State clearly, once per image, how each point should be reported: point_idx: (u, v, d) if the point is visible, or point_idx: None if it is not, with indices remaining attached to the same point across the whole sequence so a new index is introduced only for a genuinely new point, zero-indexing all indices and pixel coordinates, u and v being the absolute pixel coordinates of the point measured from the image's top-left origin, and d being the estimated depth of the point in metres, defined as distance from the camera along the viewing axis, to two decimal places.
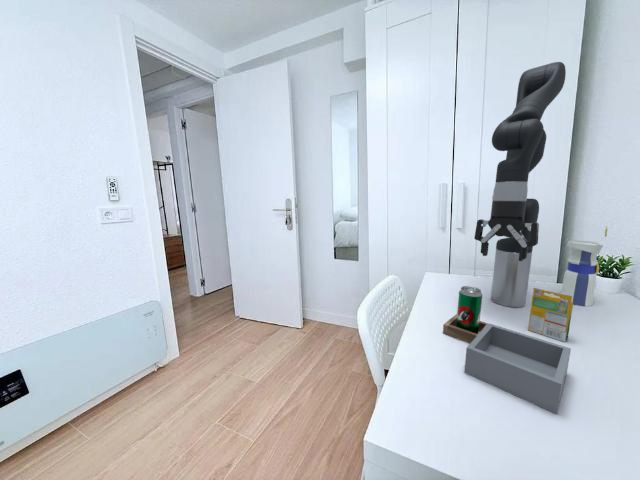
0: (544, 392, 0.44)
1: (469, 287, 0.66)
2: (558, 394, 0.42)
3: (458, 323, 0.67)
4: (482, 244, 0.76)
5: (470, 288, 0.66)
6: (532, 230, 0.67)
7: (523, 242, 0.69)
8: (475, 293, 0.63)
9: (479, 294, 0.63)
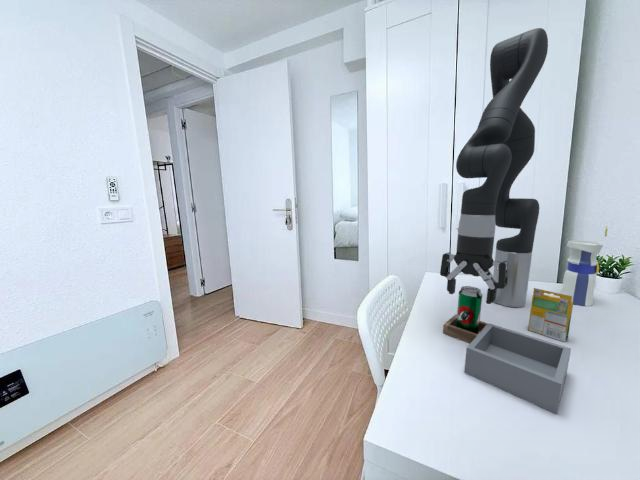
0: (544, 392, 0.44)
1: (469, 287, 0.66)
2: (558, 394, 0.42)
3: (458, 323, 0.67)
4: (448, 281, 0.68)
5: (470, 288, 0.66)
6: (500, 271, 0.59)
7: (491, 283, 0.60)
8: (475, 293, 0.63)
9: (479, 294, 0.63)
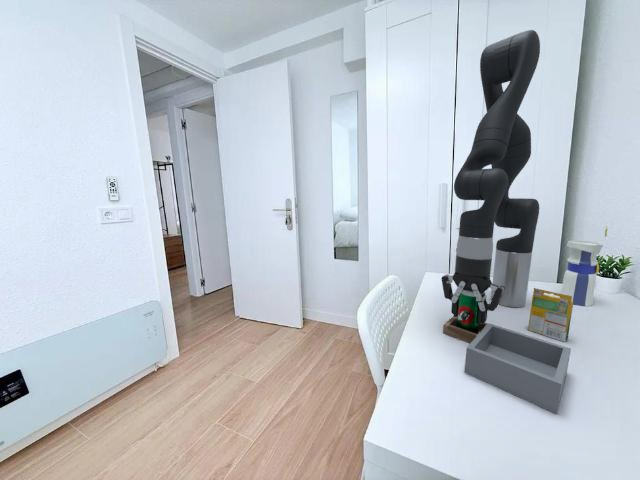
0: (544, 392, 0.44)
1: None
2: (558, 394, 0.42)
3: (458, 323, 0.67)
4: (453, 304, 0.68)
5: None
6: (495, 295, 0.60)
7: (482, 305, 0.63)
8: None
9: None
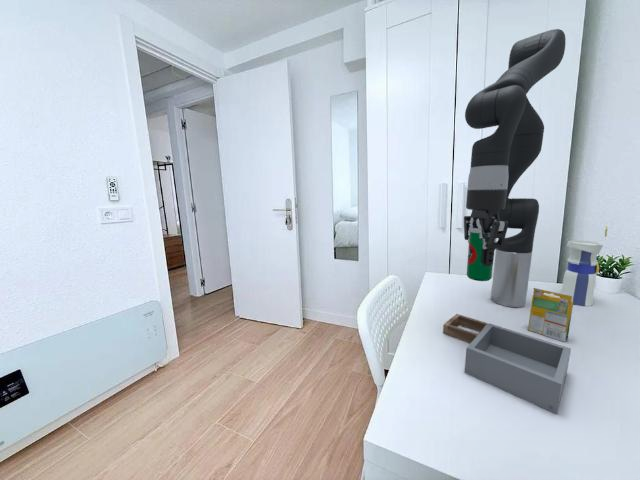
0: (544, 392, 0.44)
1: None
2: (558, 394, 0.42)
3: None
4: None
5: None
6: (492, 229, 0.54)
7: (484, 243, 0.57)
8: None
9: None
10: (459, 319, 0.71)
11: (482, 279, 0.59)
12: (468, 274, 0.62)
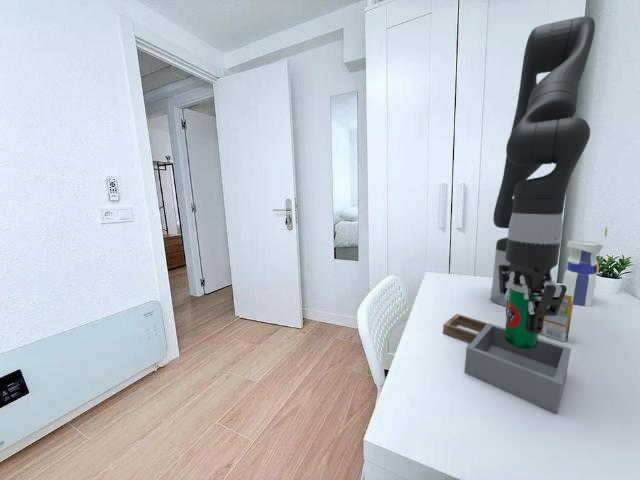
0: (544, 392, 0.44)
1: None
2: (558, 394, 0.42)
3: None
4: (507, 301, 0.54)
5: None
6: (544, 294, 0.44)
7: (531, 307, 0.47)
8: None
9: None
10: (459, 319, 0.71)
11: (527, 348, 0.49)
12: (508, 339, 0.51)
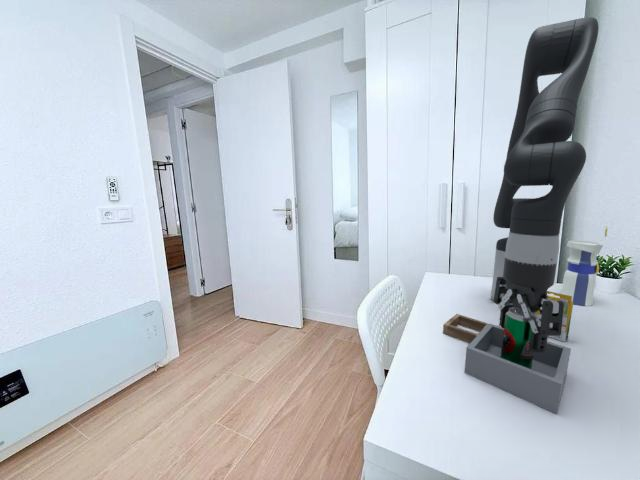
0: (544, 392, 0.44)
1: None
2: (558, 394, 0.42)
3: (501, 349, 0.54)
4: None
5: None
6: (543, 311, 0.44)
7: (534, 325, 0.46)
8: (519, 316, 0.49)
9: None
10: (459, 319, 0.71)
11: None
12: None
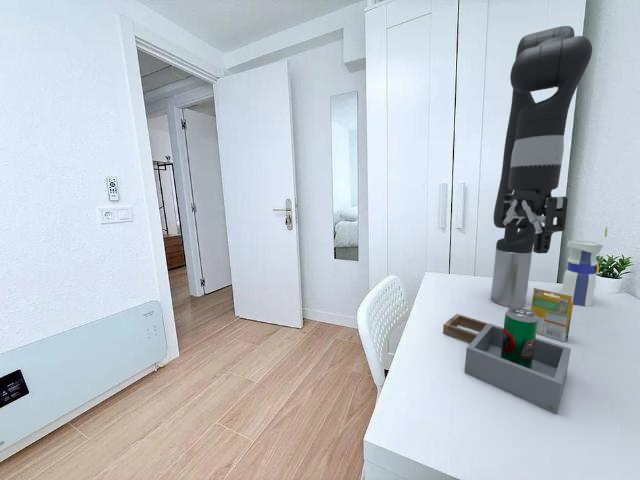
0: (544, 392, 0.44)
1: (524, 310, 0.51)
2: (558, 394, 0.42)
3: (501, 349, 0.54)
4: None
5: (523, 311, 0.51)
6: (547, 208, 0.45)
7: (538, 226, 0.48)
8: (519, 316, 0.49)
9: (526, 320, 0.49)
10: (459, 319, 0.71)
11: None
12: None
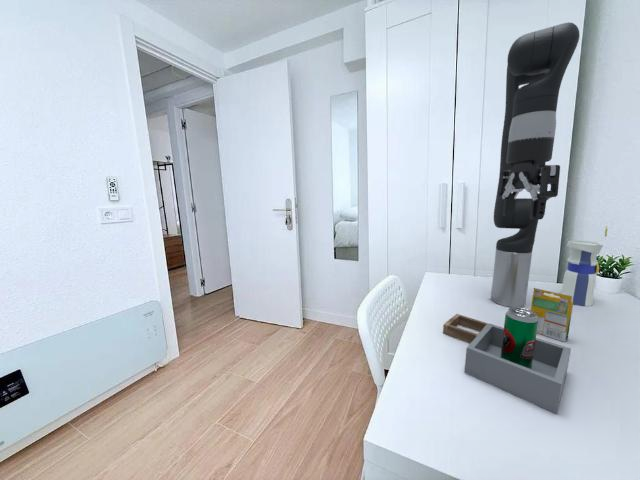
0: (544, 392, 0.44)
1: (525, 310, 0.51)
2: (558, 394, 0.42)
3: (501, 349, 0.54)
4: None
5: (523, 311, 0.51)
6: (542, 176, 0.50)
7: (534, 193, 0.52)
8: (519, 316, 0.49)
9: (527, 320, 0.49)
10: (459, 319, 0.71)
11: None
12: None
